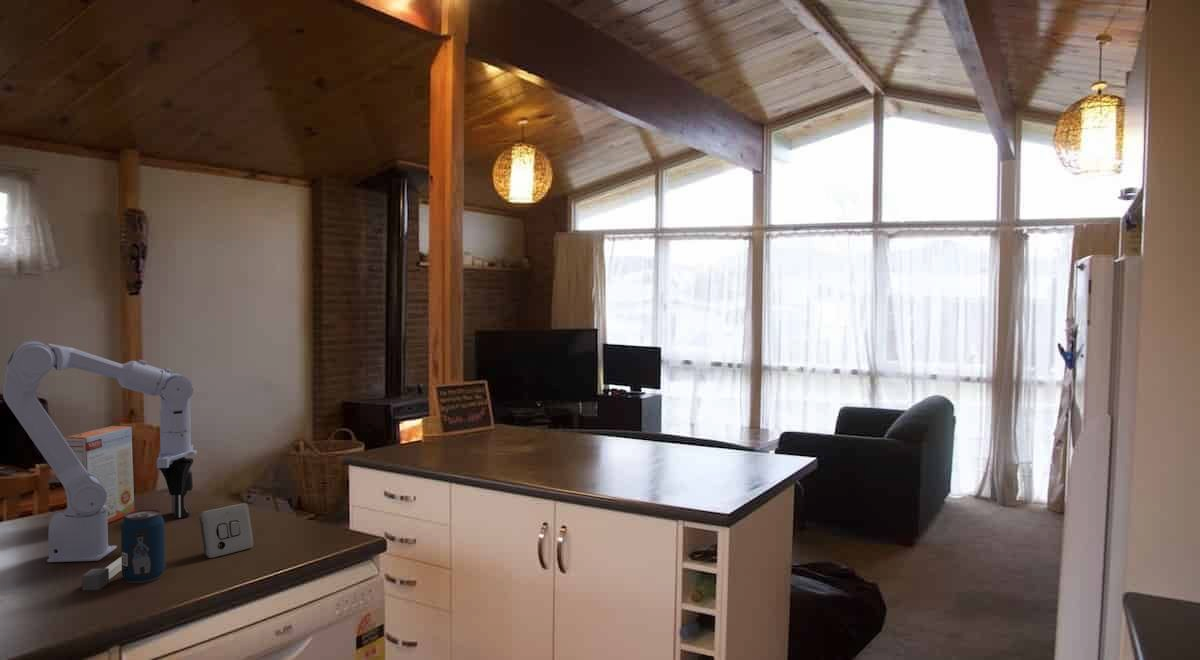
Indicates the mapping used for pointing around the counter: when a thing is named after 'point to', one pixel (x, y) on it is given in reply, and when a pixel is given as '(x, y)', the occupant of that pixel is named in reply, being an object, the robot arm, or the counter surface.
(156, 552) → the soda can
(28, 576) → the counter surface
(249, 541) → the electrical switch
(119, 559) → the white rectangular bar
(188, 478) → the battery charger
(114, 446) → the cracker box
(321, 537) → the counter surface
